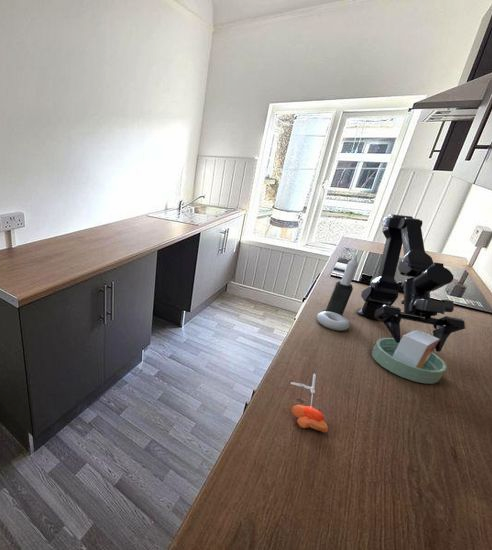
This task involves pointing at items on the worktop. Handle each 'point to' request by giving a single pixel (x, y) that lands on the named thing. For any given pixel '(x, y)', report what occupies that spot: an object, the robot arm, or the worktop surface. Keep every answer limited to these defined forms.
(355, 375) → the worktop surface
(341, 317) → the donut
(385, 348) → the bowl
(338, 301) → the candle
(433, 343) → the small box
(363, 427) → the worktop surface
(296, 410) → the orange lobed stemmed ornament
